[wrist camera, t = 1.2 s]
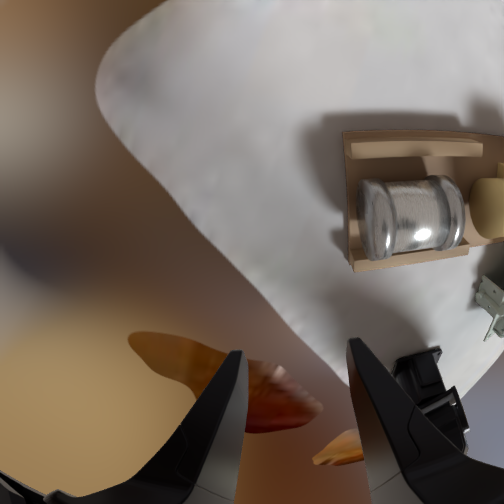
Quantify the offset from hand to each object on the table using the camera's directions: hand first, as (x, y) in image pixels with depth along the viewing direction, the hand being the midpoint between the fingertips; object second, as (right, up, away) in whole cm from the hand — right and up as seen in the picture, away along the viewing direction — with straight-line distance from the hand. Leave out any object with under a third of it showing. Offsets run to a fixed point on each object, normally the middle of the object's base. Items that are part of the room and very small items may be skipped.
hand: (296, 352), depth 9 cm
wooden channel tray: (+14, +8, +8) cm, 18 cm away
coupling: (+9, +7, +9) cm, 14 cm away
